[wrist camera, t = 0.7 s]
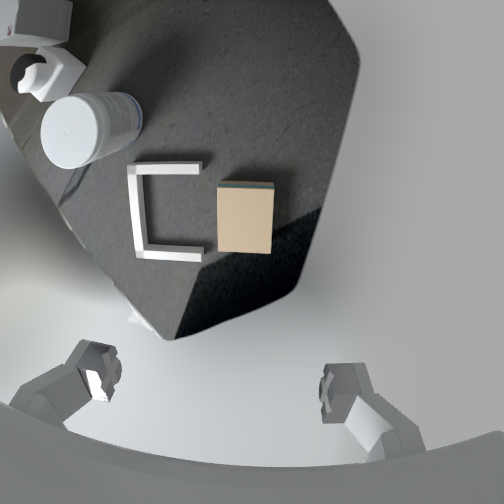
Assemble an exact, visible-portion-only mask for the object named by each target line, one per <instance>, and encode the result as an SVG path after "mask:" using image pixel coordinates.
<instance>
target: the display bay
mask: <svg viewBox="0 0 504 504" xmlns="http://www.w3.org/2000/svg"><path fill="white" fill-rule="evenodd" d="M201 172H202V161H160V162H133V163H131V164H129V165H127V173H128V186H129V198H130V208H131V218H132V227H133V235H134V243H135V250H136V258H146V259H162V260H178V261H195V262H201V261H202V259H203V256H204V247H195V246H175V245H155V244H148V237H147V228H146V217H145V206H144V193H143V179H142V174H200V173H201Z"/></svg>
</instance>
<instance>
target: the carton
mask: <svg viewBox="0 0 504 504" xmlns="http://www.w3.org/2000/svg"><path fill="white" fill-rule="evenodd" d="M273 204H274V183H273V182H250V181H221V182H220V184H219V185H218V187H217V217H218V251H225V252H248V253H271V239H272V222H273Z"/></svg>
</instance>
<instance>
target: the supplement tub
mask: <svg viewBox="0 0 504 504" xmlns="http://www.w3.org/2000/svg"><path fill="white" fill-rule="evenodd" d="M142 121H143V116H142V110H141V107H140V105H139V103H138V102H137V101H136V100H135V99H134V98H133V97H132V96H131V95H129V94H127V93H123V92H96V93H78V94H72V95H69V96H65V97H62V98H60V99H58V100H57V101H55V102H54V103H53V104H52V105H51V106H50V107H49V109H48V110H47V112H46V114H45V116H44V118H43V122H42V126H41V141H42V146H43V149H44V151H45V153H46V155H47V157H48V158H49V159H50V160H51V161H52V162H53V163H54V164H55V165H57V166H59V167H61V168H65V169H73V168H77V167H81V166H84V165H86V164H88V163H91V162H93V161H95V160H97V159H100V158H102V157H104V156H106V155H109V154H111V153H113V152H116V151H118V150H121V149H123V148H125V147H127V146H129V145H130V144H132V143H133V142H134V141H135V139H136V138H137V137H138V135H139V133H140V131H141V127H142Z"/></svg>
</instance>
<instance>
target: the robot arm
mask: <svg viewBox="0 0 504 504" xmlns="http://www.w3.org/2000/svg"><path fill="white" fill-rule="evenodd" d="M116 355H117V350H116V347H115V346H112V345H107V344H103V343H98V342H93V341H88V340H84V339H83V340H81V341H79V343H78V345H77V346H76V347H75V349H74V350H73V352H72V353H71V355H70V357H69V358H68V360H67V361H66V363H65V365H63V364H61V365H59V366H57V367H55V368H53V369H51V370H50V371H48V372H46V373H44V374H42V375H40V376H38V377H37V378H35V379H33V380H31V381H29V382H27V383H25V384H23V385H22V386H20V388H19V390H18V391H17V393H16V394H15V396H14V397H13V399H12V401H11V402H10V404H9V405H6V404H4V403H2V402H0V504H504V433H503V432H502V431H493V432H490V433H487V434H484V435H482V436H479V437H475V438H472V439H469V440H466V441H463V442H460V443H456V444H452V445H449V446H445V447H442V448H438V449H434V450H430V451H426V449H425V446H424V443H423V440H422V437H421V434H420V431H419V428H418V426H417V425H416V424H414V423H413V422H412V421H411V420H409V419H408V418H407V417H406V416H404V415H403V414H402V413H401V412H400V411H398V410H397V409H396V408H395V407H394V406H392V405H391V404H390V403H389V402H387V401H386V400H385V399H384V398H383V397H381V396H380V395H379V394H375V393H374V390H373V387H372V384H371V381H370V378H369V375H368V371H367V369H366V365H365V364H364V363H338V364H326V365H325V367H324V370H323V372H324V377H322V378H321V381H320V384H319V399H320V402H321V403H322V404H323V405H322V409H321V414H322V421H323V423H324V424H325V423H344V425H345V426H346V427H347V428H348V429H349V431H350V432H351V433H352V434H353V435H354V436H355V438H356V439H357V440H358V441H359V442H360V443H361V444H362V446H363V447H364V448H365V449H366V450H367V452H368V454H367V455H366V457H365V458H364V459H363V461H362V462H361V463H354V464H344V465H332V466H315V467H252V466H236V465H224V464H213V463H204V462H197V461H190V460H183V459H176V458H171V457H165V456H160V455H154V454H150V453H145V452H141V451H136V450H132V449H128V448H123V447H120V446H116V445H112V444H109V443H105V442H102V441H98V440H95V439H92V438H88V437H85V436H82V435H79V434H76V433H73V432H70V431H68V429H67V428H66V426H65V425H64V424H63V421H65V420H66V419H67V418H69V417H70V416H71V415H72V414H74V413H75V412H76V411H78V410H79V409H80V408H81V407H83V406H84V405H85V404H86V403H88V402H89V401H90V400H91V399H92V398H93V399H97V400H102V401H106V402H110V400H111V398H112V396H113V393H114V391H115V389H114V386H113V385H115V384H116V383H118V382H119V380H120V377H121V372H122V367H121V362H120V360H118V358H117V357H116Z"/></svg>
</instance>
